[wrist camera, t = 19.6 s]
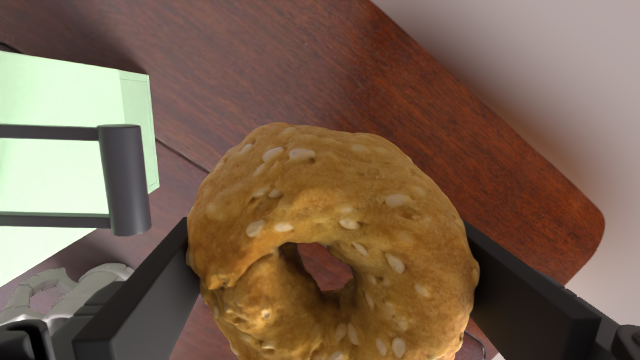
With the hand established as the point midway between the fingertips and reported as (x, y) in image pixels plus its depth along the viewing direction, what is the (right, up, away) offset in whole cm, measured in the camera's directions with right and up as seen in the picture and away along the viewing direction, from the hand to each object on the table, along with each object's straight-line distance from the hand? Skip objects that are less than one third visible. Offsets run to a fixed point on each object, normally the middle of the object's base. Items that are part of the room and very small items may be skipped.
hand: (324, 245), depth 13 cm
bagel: (0, 0, 0) cm, 0 cm away
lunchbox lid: (-20, +5, +10) cm, 23 cm away
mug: (-30, -11, +29) cm, 43 cm away
